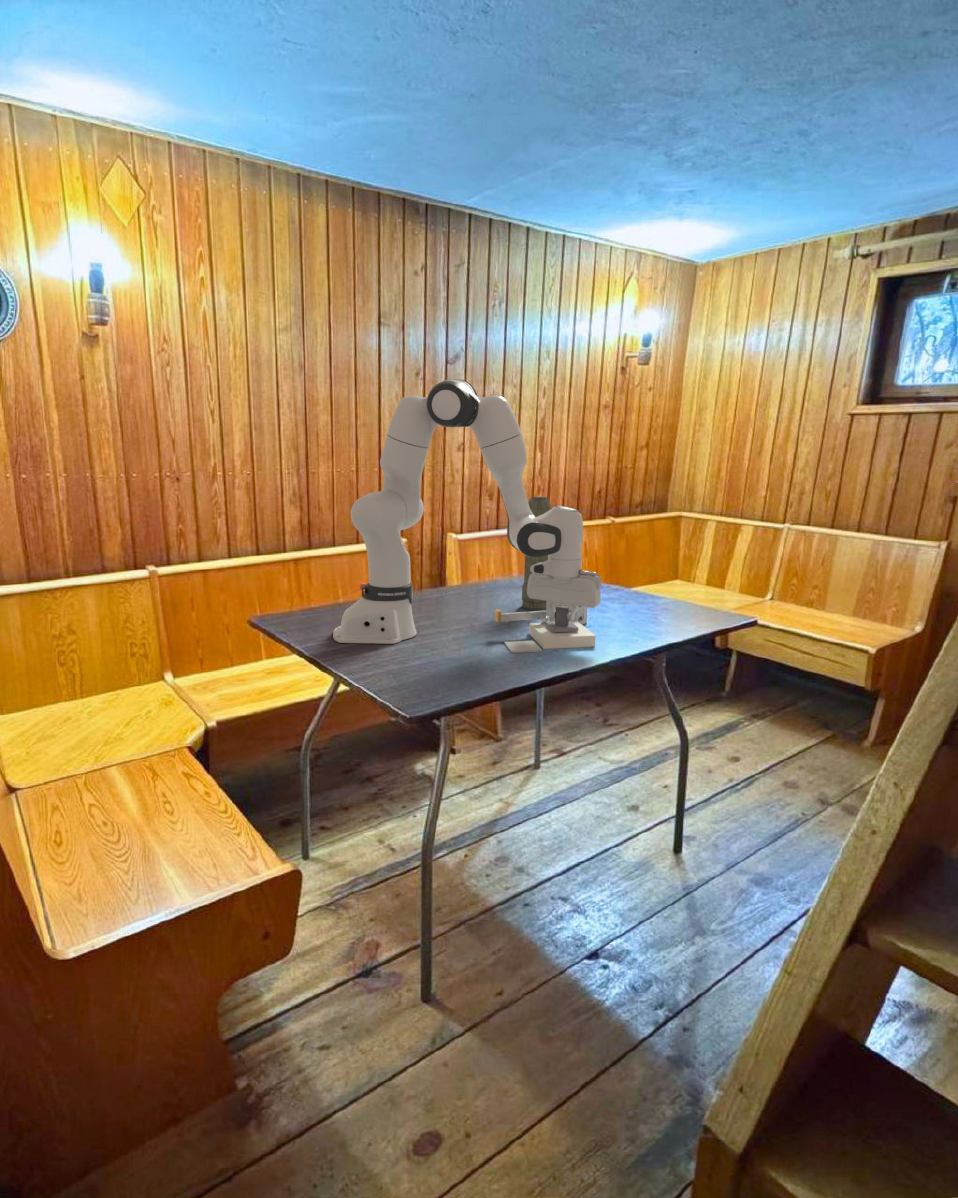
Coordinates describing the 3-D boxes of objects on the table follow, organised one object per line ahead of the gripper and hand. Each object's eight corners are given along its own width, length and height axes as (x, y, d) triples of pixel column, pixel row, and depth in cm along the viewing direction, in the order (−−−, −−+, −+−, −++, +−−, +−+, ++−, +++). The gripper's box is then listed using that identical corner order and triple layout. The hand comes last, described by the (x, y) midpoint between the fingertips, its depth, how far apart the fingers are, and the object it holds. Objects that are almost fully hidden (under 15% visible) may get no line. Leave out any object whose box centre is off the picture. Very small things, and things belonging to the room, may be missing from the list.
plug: (552, 644, 180) (553, 611, 178) (545, 636, 187) (546, 604, 185) (577, 643, 182) (579, 610, 179) (569, 635, 188) (571, 604, 186)
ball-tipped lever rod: (547, 621, 190) (548, 606, 189) (550, 623, 188) (551, 608, 187) (494, 624, 186) (495, 609, 185) (497, 627, 184) (497, 611, 182)
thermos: (512, 606, 220) (515, 496, 212) (542, 602, 226) (546, 495, 218) (528, 612, 212) (532, 499, 204) (558, 608, 218) (563, 498, 210)
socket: (543, 648, 176) (544, 637, 176) (529, 633, 190) (529, 623, 189) (594, 646, 179) (595, 635, 178) (577, 631, 192) (577, 621, 192)
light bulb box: (587, 623, 202) (589, 587, 199) (577, 628, 196) (579, 591, 194) (555, 617, 207) (556, 582, 205) (544, 622, 202) (545, 586, 199)
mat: (511, 652, 173) (511, 651, 172) (504, 643, 180) (504, 641, 180) (542, 651, 174) (542, 649, 174) (533, 642, 182) (533, 640, 182)
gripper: (606, 570, 177) (602, 622, 180) (536, 562, 187) (534, 610, 191) (596, 574, 172) (593, 627, 175) (525, 565, 182) (523, 615, 185)
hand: (562, 618), depth 183 cm, fingers closed on plug, 4 cm apart
